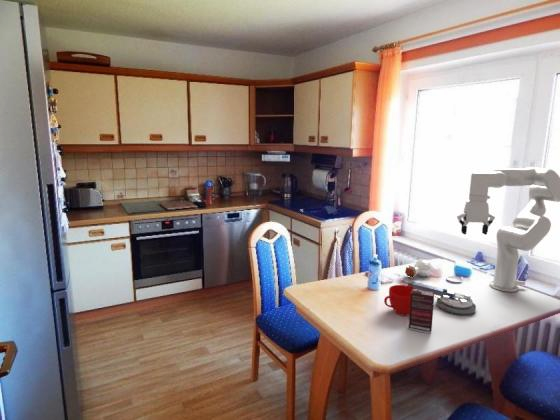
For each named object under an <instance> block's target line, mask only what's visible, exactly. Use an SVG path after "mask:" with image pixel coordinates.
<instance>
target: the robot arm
mask: <svg viewBox="0 0 560 420" xmlns="http://www.w3.org/2000/svg"><path fill="white" fill-rule="evenodd" d="M470 175H471V177H470V185H469V195H468V200H466V202H465V204H464V209H463V213H462V214H458V215H457V216H456V218H457V219H456V220H458V223H460V225H461V229H460V230H461V233H462V234H463V235H467V230H468V226H467V225H468V224H469V223H482V224H483V225H482V228H481V233H482V234H483V235H488V232H489V227H490V226H491V224H492V223H493V222H494V221H495V219H496V217H495V216H493V215H492V214H490V212H489V209H490V207H489V201H488V200H490V199H491V196H490V195H488V194H489V188H493V189H494V188H495V189H499V188H502V187H504V186H506V187H523V186H525V187H528V186H529V189H528V202H527V205H526V206H525V207H524V208H523V209H522V211H520V212H519V213H518V214H517V215H516V217H515V218H514V219H513V222H512V226H502V227H500V228H499V229H498V230H497V233H496V246H497V247H496V257H495V258H496V259H495V265H494V266H495V267H494V275H493V280H491V281H489V286H490V287H491V288H493V289H494V290H497V291H501V292H502V291H503V292H507V293H510V292H511V293H514V292H518V290H519V285H520V286H524V285H526V282H525V281H524V280H523V281H522V280H519V279H517V272H518V266H519V265H518V263H519V260H520V257H519V256H520V253H519V250H520V251H525V252H529V251H531V250H533V249H534V248H536V247H537V245H539V243H541V242H542V240H543V239H544V238H545V237H546V236H547V235H548V234H549V232H550V231H551V227H552V223H551V220H550V218H548V217H546V216H544V215H545V214H546V211H547V208H546V205H545V202H544V201H549V202H550V201H551V202H555V203H556V202H557V203H558V202H559V203H560V175H559V174H558V173H557V172H556V171H555V170H553V169H549V168H540V167H525V168H505V169H500V168H499V169H481V170H478V171H473V172H471V174H470Z"/></svg>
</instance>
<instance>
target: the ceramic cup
mask: <svg viewBox="0 0 560 420" xmlns="http://www.w3.org/2000/svg"><path fill="white" fill-rule="evenodd" d="M412 289H416V288H414V287H411V286H408V285H404V284H395V285H391V286H390V287H389V289H388V290H389V291H388V295H387V296H386V297H384V300H383V302H384V305H385V306H386V307H389V308H392V309H393V311H394V312H395V313H396V314H398V315H400V316H410V300H411V291H412ZM388 299H389V303H390V305H389V304H388V302H387V301H388Z"/></svg>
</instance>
